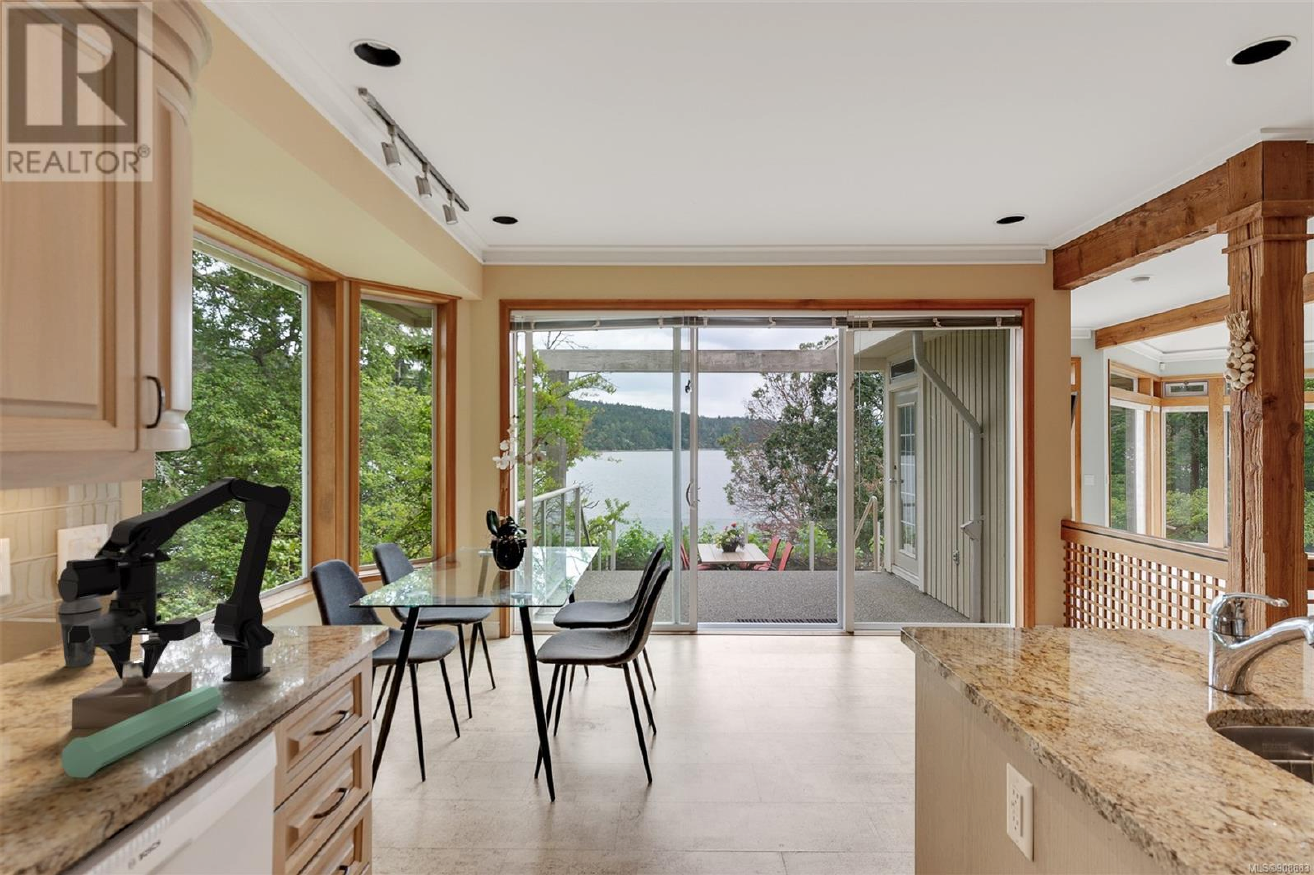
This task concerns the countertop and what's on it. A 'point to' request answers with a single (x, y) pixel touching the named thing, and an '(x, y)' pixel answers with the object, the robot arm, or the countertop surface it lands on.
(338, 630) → the countertop surface
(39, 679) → the countertop surface
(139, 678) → the silver metal peg
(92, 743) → the mint green octagonal rod
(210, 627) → the countertop surface
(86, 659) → the beverage cup
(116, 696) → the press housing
